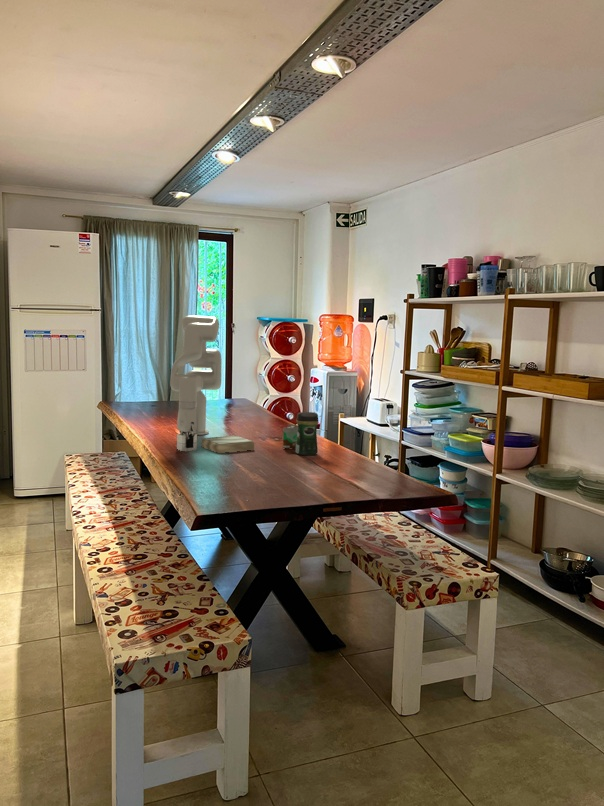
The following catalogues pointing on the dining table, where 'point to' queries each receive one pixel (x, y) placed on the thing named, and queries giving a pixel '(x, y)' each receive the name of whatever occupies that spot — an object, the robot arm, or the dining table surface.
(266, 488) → the dining table surface
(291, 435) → the food container
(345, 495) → the dining table surface
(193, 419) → the robot arm
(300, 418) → the coffee jar
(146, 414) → the dining table surface
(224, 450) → the wooden stand
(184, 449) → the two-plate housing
